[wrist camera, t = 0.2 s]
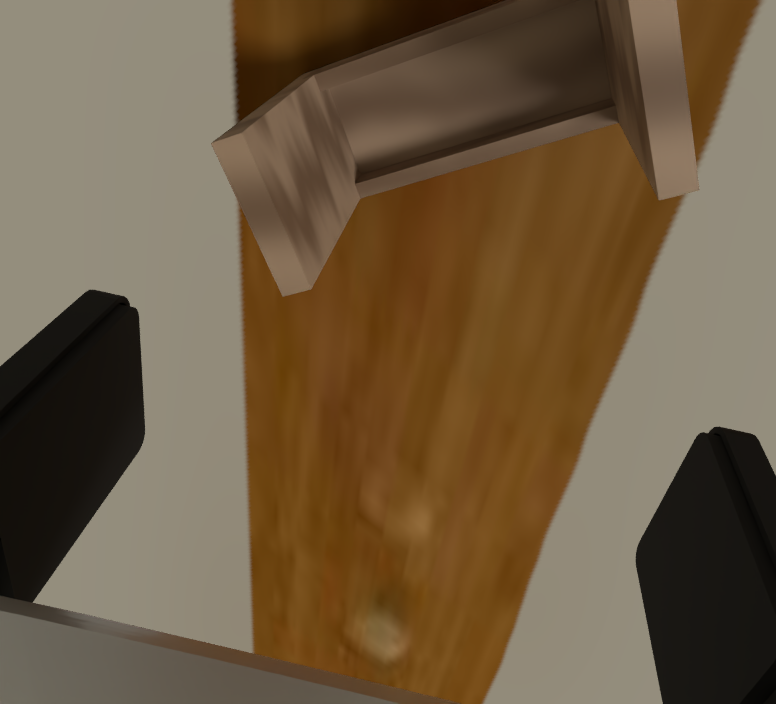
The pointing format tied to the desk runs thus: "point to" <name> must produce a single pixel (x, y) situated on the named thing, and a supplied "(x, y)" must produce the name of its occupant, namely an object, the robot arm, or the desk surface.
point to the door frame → (456, 115)
